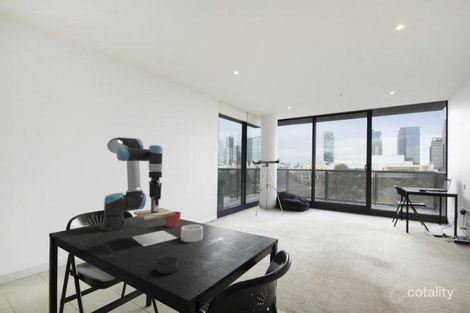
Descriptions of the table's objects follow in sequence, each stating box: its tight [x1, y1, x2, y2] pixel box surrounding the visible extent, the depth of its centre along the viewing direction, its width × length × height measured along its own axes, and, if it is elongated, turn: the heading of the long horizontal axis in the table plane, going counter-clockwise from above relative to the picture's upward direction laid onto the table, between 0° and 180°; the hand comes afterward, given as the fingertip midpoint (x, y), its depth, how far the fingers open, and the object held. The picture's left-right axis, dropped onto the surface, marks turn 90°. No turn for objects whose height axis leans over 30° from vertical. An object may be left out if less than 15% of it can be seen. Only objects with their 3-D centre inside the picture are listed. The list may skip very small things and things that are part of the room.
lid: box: [133, 197, 176, 221], centre depth 136 cm, size 18×18×10 cm
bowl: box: [180, 224, 204, 243], centre depth 134 cm, size 12×12×7 cm
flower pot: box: [165, 211, 182, 228], centre depth 160 cm, size 11×11×10 cm
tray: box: [131, 230, 178, 247], centre depth 135 cm, size 20×20×1 cm
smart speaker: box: [156, 256, 179, 275], centre depth 96 cm, size 9×9×4 cm
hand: (154, 210), depth 136 cm, fingers closed on lid, 3 cm apart
